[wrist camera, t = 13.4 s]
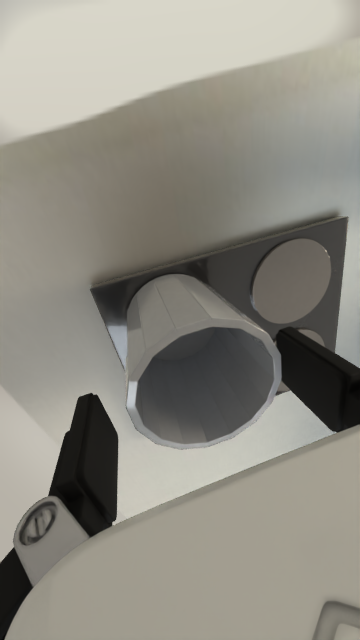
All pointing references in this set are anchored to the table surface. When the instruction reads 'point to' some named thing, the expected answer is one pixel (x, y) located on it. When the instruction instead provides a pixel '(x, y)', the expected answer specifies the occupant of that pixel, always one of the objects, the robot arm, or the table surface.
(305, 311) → the hob
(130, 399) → the pot
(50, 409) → the table surface
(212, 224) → the table surface
